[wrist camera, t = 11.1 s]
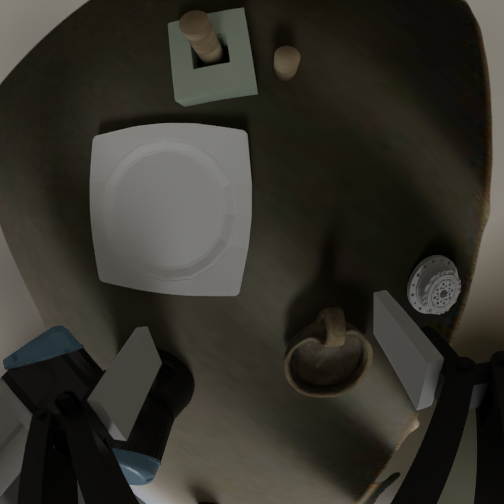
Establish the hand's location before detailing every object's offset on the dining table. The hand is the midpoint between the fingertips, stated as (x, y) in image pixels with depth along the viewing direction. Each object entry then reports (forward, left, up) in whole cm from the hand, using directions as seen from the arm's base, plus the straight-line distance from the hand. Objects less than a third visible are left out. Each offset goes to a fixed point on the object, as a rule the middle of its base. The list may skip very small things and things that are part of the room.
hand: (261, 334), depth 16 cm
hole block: (-4, +25, -26) cm, 36 cm away
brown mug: (+7, -18, -26) cm, 33 cm away
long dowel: (-4, +25, -26) cm, 36 cm away
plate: (-14, +5, -26) cm, 30 cm away
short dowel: (+5, +22, -26) cm, 34 cm away
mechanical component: (+26, -12, -26) cm, 39 cm away
